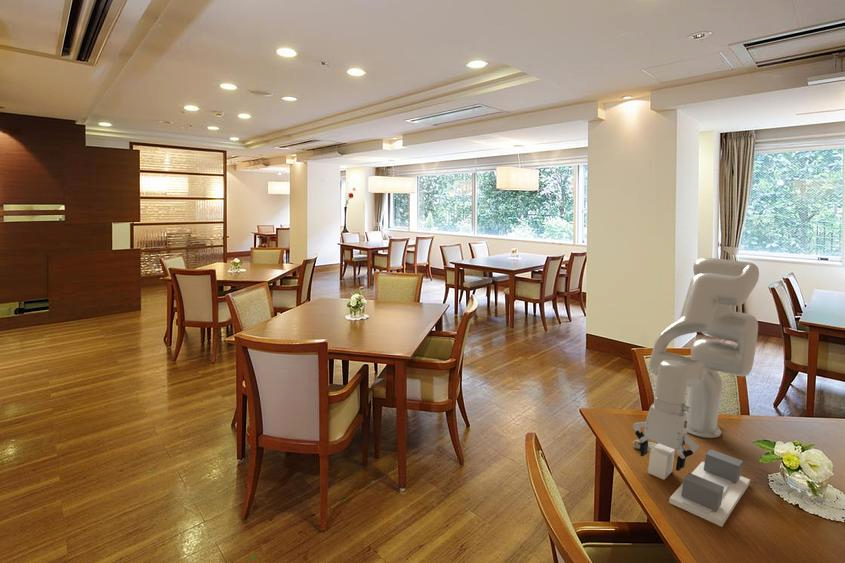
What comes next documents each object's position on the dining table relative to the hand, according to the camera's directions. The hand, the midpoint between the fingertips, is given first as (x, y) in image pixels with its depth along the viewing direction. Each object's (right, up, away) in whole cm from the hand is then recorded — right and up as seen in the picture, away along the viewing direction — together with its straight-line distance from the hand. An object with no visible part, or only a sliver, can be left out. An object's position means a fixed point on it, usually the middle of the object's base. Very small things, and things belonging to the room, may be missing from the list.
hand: (660, 461), depth 136 cm
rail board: (+9, -5, -8) cm, 13 cm away
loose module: (0, -3, +1) cm, 4 cm away
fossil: (+4, -2, +14) cm, 14 cm away
